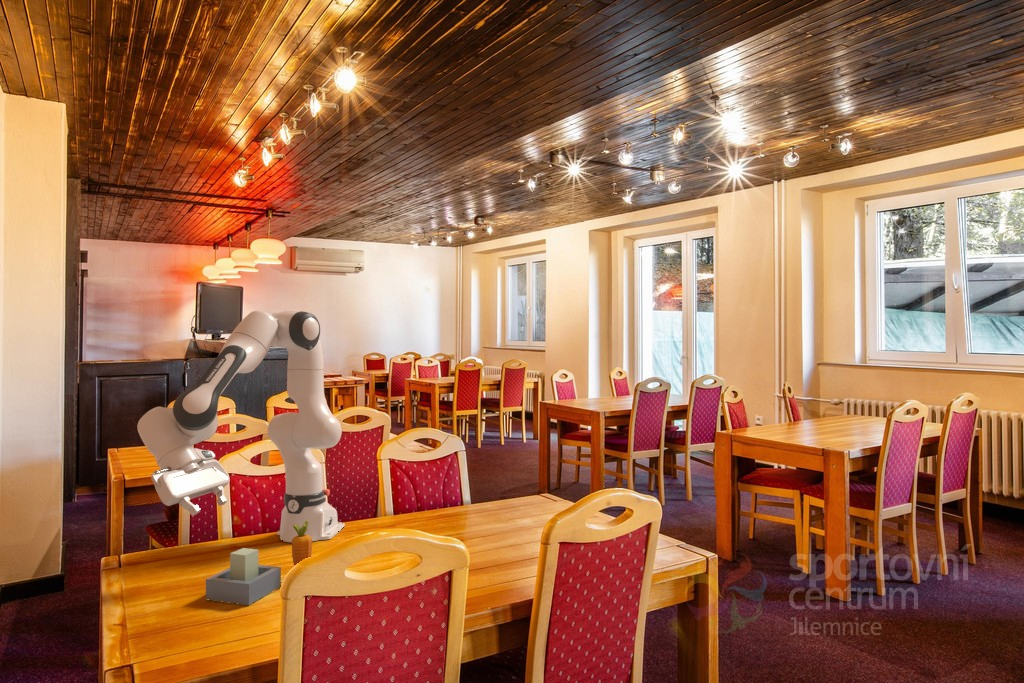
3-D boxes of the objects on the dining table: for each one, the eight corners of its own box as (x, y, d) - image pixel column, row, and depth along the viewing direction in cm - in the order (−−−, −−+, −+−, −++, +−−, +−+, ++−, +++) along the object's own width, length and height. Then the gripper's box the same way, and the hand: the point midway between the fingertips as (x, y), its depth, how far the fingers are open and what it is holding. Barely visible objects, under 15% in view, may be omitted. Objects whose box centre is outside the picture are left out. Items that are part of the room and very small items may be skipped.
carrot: (290, 584, 163) (291, 524, 163) (292, 577, 167) (292, 519, 168) (311, 582, 164) (311, 523, 164) (312, 575, 169) (312, 518, 169)
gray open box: (239, 582, 164) (239, 562, 164) (280, 587, 160) (280, 567, 161) (205, 600, 152) (205, 579, 152) (249, 605, 149) (249, 584, 149)
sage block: (243, 584, 159) (243, 547, 159) (258, 586, 158) (258, 549, 158) (229, 590, 155) (230, 553, 155) (245, 593, 153) (245, 555, 154)
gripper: (156, 464, 153) (187, 511, 150) (217, 450, 172) (245, 491, 170) (139, 480, 154) (170, 527, 152) (202, 464, 174) (230, 505, 171)
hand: (210, 508), depth 161 cm, fingers open, 8 cm apart
